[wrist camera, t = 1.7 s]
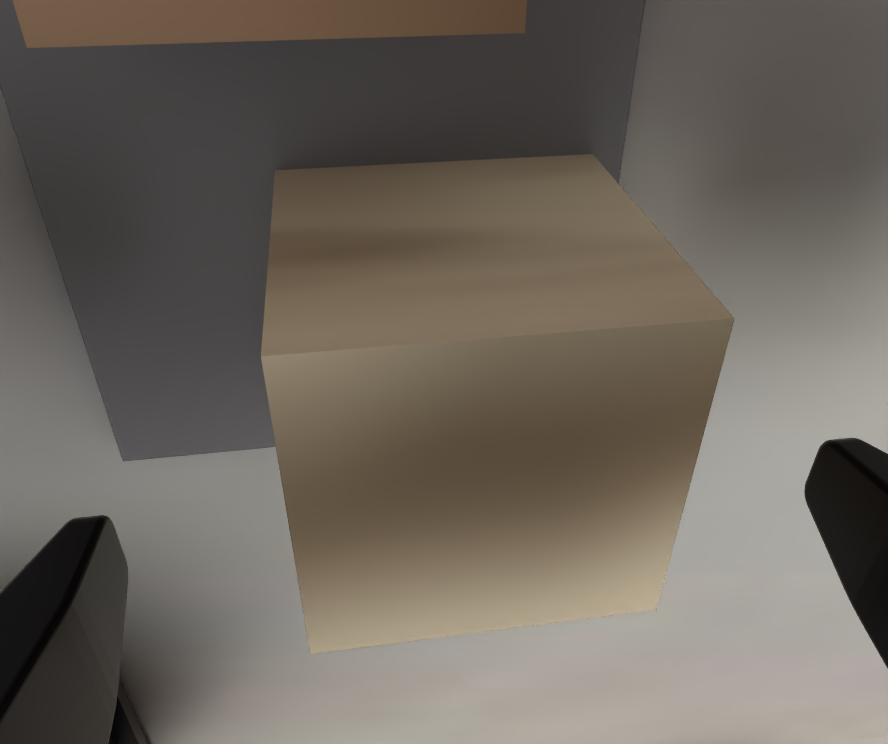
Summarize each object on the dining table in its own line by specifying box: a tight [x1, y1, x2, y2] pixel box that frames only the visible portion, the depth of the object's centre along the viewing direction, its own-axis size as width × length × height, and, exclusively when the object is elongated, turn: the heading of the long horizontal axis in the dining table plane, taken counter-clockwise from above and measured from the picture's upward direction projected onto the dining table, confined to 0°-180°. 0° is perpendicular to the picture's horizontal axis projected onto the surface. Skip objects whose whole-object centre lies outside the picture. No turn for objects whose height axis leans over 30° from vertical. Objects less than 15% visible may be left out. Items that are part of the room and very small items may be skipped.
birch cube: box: [261, 154, 734, 654], centre depth 11 cm, size 5×5×5 cm
